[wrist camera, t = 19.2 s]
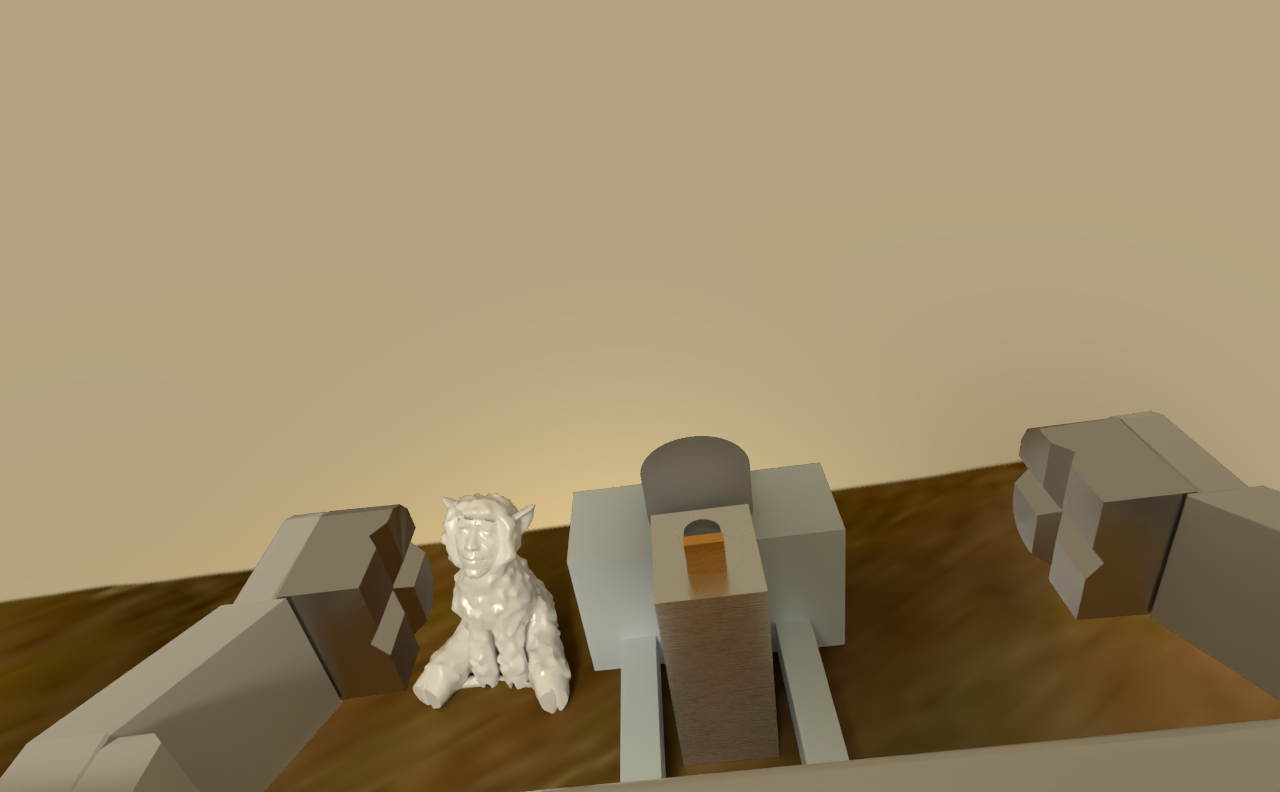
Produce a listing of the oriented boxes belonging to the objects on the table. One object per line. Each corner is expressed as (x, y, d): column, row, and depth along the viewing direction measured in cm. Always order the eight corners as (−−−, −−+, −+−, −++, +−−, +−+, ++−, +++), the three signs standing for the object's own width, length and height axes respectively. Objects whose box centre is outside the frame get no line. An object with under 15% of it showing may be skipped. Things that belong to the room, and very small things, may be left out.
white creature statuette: (414, 713, 44) (345, 565, 38) (461, 603, 51) (410, 463, 45) (568, 717, 42) (522, 562, 36) (594, 602, 49) (560, 457, 43)
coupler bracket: (576, 1080, 28) (504, 929, 22) (598, 597, 50) (564, 452, 44) (973, 1051, 27) (1012, 885, 21) (821, 571, 49) (819, 420, 43)
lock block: (683, 765, 39) (648, 574, 32) (677, 670, 44) (645, 487, 37) (779, 756, 38) (765, 561, 31) (761, 661, 43) (745, 475, 36)
